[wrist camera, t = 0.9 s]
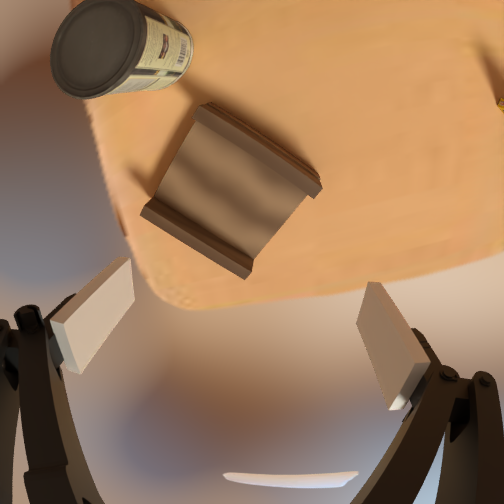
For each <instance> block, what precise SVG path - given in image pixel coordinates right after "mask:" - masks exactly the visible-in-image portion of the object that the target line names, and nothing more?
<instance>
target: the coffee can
mask: <svg viewBox="0 0 504 504" xmlns="http://www.w3.org/2000/svg"><path fill="white" fill-rule="evenodd" d="M192 56H193V41H192V37H191V35H190V33H189V31H188V30H187V29H186V28H185V27H184V26H183V25H182V24H181V23H179V22H177V21H175V20H172V19H170V18H168V17H166V16H164V15H162V14H160V13H158V12H156V11H154V10H152V9H150V8H148V7H146V6H144V5H142V4H140V3H138V2H136V1H134V0H85V1H83V2H82V3H80V4H79V5H77V6H76V7H75V8H74V9H73V10H72V11H71V12H70V13H69V14H68V15H67V16H66V18H65V19H64V20H63V22H62V24H61V25H60V27H59V29H58V31H57V33H56V35H55V38H54V40H53V44H52V48H51V54H50V66H51V72H52V76H53V78H54V81H55V82H56V84H57V86H58V87H59V88H60V90H61V91H62V92H64V93H65V94H67V95H68V96H70V97H72V98H75V99H92V98H96V97H100V96H103V95H109V94H117V93H125V92H135V91H146V90H147V91H155V90H160V89H163V88H166V87H168V86H170V85H172V84H174V83H175V82H176V81H178V80H179V79H180V78H181V77H182V76H183V75H184V73H185V72H186V70H187V69H188V67H189V65H190V63H191V60H192Z"/></svg>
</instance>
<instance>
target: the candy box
mask: <svg viewBox="0 0 504 504" xmlns="http://www.w3.org/2000/svg"><path fill="white" fill-rule="evenodd" d="M498 107H499V108H500V109H501V111H502V112H503V113H504V99H503V98H500V101H499V103H498Z"/></svg>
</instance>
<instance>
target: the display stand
mask: <svg viewBox="0 0 504 504" xmlns="http://www.w3.org/2000/svg"><path fill="white" fill-rule="evenodd" d="M192 119H194V120H196V121H195V123H194V125H193V126H192V128H191V130H190V131H189V133H188V135H187V136H186V138H185V140H184V141H183V143H182V145H181V147H180V148H179V150H178V152H177V154H176V155H175V157H174V159H173V161H172V163H171V164H170V166H169V168H168V170H167V172H166V174H165V176H164V177H163V179H162V181H161V183H160V185H159V187H158V189H157V191H156V193H155V195H154V197H153V198H152V199H151V200H150V201H149V202H147V203H146V204H145V205H144V207H143V209H142V211H141V214H140V216H142V217H143V218H145V219H146V220H148V221H150V222H151V223H153V224H154V225H156V226H157V227H159V228H161V229H162V230H164V231H165V232H167V233H169V234H170V235H172V236H173V237H175V238H177V239H178V240H180V241H181V242H183V243H185V244H186V245H188V246H190V247H191V248H193V249H194V250H196V251H198V252H199V253H201V254H203V255H204V256H206V257H207V258H209V259H211V260H212V261H214V262H216V263H217V264H219V265H221V266H222V267H224V268H226V269H227V270H229V271H231V272H232V273H234V274H236V275H237V276H239V277H241V278H242V279H244V280H245V279H246V278H247V277H248V276H249V275H250V273H251V272H252V267H253V261H254V259H255V257H256V256H257V255H258V254H259V253H260V251H261V250H262V249H263V248H264V247H265V245H266V244H267V243H268V242H269V241H270V239H271V238H272V237H273V236H274V235H275V233H276V232H277V231H278V230H279V229H280V227H281V226H282V225H283V224H284V223H285V221H286V220H287V219H288V218H289V217H290V215H291V214H292V213H293V212H294V211H295V209H296V208H297V207H298V206H299V205H300V203H301V202H302V201H303V200H304V199H305V197H306V196H307V195H309V196H310V197H312V198H313V199H314V198H315V197H316V196H317V195H318V193H319V192H320V191H321V190H322V189H323V188H322V185H321V183H320V176H319V174H317V173H316V172H315V171H313V170H312V169H311V168H309V167H308V166H307V165H305V164H304V163H303V162H301V161H300V160H299V159H297V158H296V157H294V156H293V155H292V154H290V153H289V152H287V151H286V150H285V149H283V148H282V147H280V146H279V145H277V144H276V143H274V142H273V141H272V140H270V139H269V138H267V137H266V136H264V135H263V134H261V133H260V132H258V131H257V130H255V129H254V128H252V127H250V126H249V125H247V124H246V123H244V122H243V121H241V120H240V119H238V118H236V117H235V116H233V115H232V114H230V113H228V112H227V111H225V110H223V109H222V108H220V107H218V106H217V105H215V104H213V103H212V102H209V103H207V104H205V105H200V106H199V107H198V108H197V110H196V112H195V113H194V115H193V116H192Z"/></svg>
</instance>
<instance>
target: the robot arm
mask: <svg viewBox="0 0 504 504" xmlns="http://www.w3.org/2000/svg"><path fill="white" fill-rule="evenodd" d="M134 301H135V298H134V290H133V281H132V272H131V260H130V258H126V257H118V258H117V259H115V260H114V261H113V262H112V263H111V264H110V265H108V266H107V267H106V268H105V269H104V270H103V271H102V272H100V273H99V274H98V275H97V276H96V277H95V278H94V279H93V280H91V281H90V282H89V283H88V284H87V285H86V286H85V287H84V288H83V289H82V290H80V291H79V292H78V293H77V294H73V295H71V296H69V297H67V298H65V299H64V301H62V302H61V304H59V305H58V306H57V307H56V309H54V310H53V311H52V312H51V313H50V314H48V316H46V318H44V319H42V315H41V312H40V309H39V307H38V306H36V305H25V306H22V307H21V308H19V309H18V310H17V311H16V312H15V313H14V318H15V321H16V323H17V326H18V328H19V330H14V329H11V328H10V326H9V323H8V321H7V320H4V319H0V504H12V476H13V457H14V456H13V455H14V445H15V435H16V427H17V420H18V414H19V408H20V412H21V421H22V429H23V437H24V444H25V450H26V455H27V461H28V465H29V471H27V472H25V473H24V483H25V487H26V491H27V495H28V499H29V502H30V504H105V503H104V502H103V500H102V499H101V497H100V495H99V493H98V491H97V489H96V486H95V483H94V481H93V479H92V476H91V474H90V471H89V469H88V466H87V463H86V460H85V457H84V454H83V452H82V449H81V445H80V442H79V439H78V436H77V433H76V430H75V426H74V422H73V419H72V415H71V411H70V407H69V403H68V398H67V394H66V390H65V384H64V379H63V374H62V370H61V368H60V364H61V363H62V362H63V361H64V362H65V365H66V367H67V369H68V370H69V371H72V372H75V373H78V374H81V373H82V372H83V370H84V369H85V368H86V366H87V365H88V363H89V362H90V360H91V359H92V358H93V356H94V355H95V353H96V352H97V351H98V349H99V348H100V346H101V345H102V344H103V342H104V341H105V339H106V338H107V337H108V335H109V334H110V333H111V331H112V330H113V329H114V327H115V326H116V324H117V323H118V322H119V320H120V319H121V318H122V317H123V315H124V314H125V313H126V311H127V310H128V308H129V307H130V306H131V305H132V303H133V302H134ZM356 324H357V327H358V329H359V332H360V334H361V337H362V339H363V342H364V344H365V347H366V350H367V352H368V355H369V357H370V360H371V362H372V365H373V368H374V371H375V373H376V376H377V379H378V381H379V384H380V387H381V390H382V393H383V395H384V399H385V401H386V404H387V407H388V410H397V409H404V407H405V406H406V404H407V402H408V401H409V399H410V402H411V404H412V407H411V409H410V410H409V412H408V413H407V415H406V416H405V418H404V419H403V421H402V422H403V423H402V425H401V427H400V429H399V431H398V432H397V434H396V436H395V438H394V440H393V441H392V443H391V445H390V446H389V448H388V450H387V451H386V453H385V455H384V456H383V458H382V459H381V461H380V462H379V464H378V465H377V467H376V468H375V470H374V471H373V473H372V475H371V476H370V477H369V479H368V480H367V482H366V483H365V484H364V486H363V487H362V489H361V490H360V491H359V493H358V494H357V495H356V497H355V498H354V499H353V500H352V502H351V503H350V504H413V502H414V500H415V498H416V496H417V494H418V493H419V491H420V489H421V487H422V485H423V483H424V480H425V478H426V476H427V474H428V472H429V470H430V467H431V465H432V463H433V461H434V458H435V456H436V453H437V451H438V448H439V446H440V443H441V441H442V438H443V435H444V432H445V439H444V450H443V459H442V467H441V474H440V480H439V486H438V492H437V497H436V501H435V504H504V431H503V422H502V414H501V407H500V401H499V395H498V390H497V384H496V381H495V379H494V378H493V377H492V375H490V374H489V373H487V372H483V371H478V372H476V373H475V375H474V376H473V377H472V379H464V378H460V377H459V375H458V373H457V372H456V371H455V370H454V369H453V368H451V367H449V366H446V365H442V364H441V362H440V361H439V359H438V357H437V356H436V354H435V353H434V351H433V350H432V348H431V346H430V345H429V343H427V340H426V338H425V337H424V335H423V334H422V333H421V332H419V331H418V330H417V329H416V328H410V327H409V325H408V323H407V322H406V320H405V319H404V317H403V316H402V314H401V313H400V311H399V309H398V308H397V306H396V305H395V303H394V302H393V300H392V299H391V297H390V296H389V295H388V293H387V292H386V290H385V289H384V287H383V286H382V284H381V283H379V282H368V284H367V288H366V291H365V295H364V298H363V302H362V306H361V309H360V312H359V316H358V319H357V322H356Z"/></svg>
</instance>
